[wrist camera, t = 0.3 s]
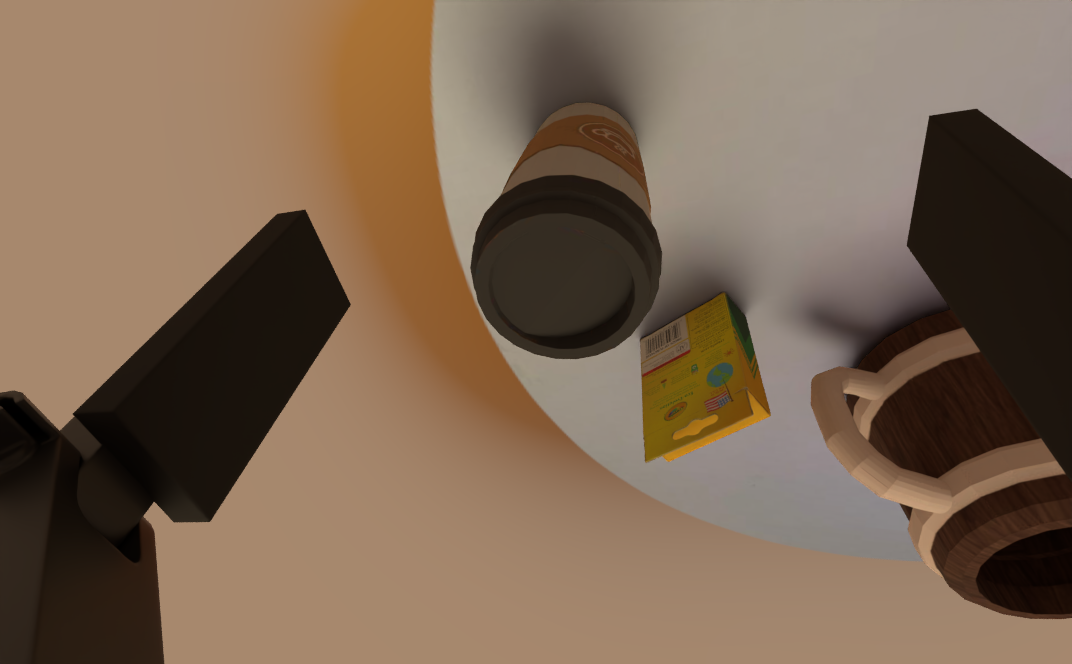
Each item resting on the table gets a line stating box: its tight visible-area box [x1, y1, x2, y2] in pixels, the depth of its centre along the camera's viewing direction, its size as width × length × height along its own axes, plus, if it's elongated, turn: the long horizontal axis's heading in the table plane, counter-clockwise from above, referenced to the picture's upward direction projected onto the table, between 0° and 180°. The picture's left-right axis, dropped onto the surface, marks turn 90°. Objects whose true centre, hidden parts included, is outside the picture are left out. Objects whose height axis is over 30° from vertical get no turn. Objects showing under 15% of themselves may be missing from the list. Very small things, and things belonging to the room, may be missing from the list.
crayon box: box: [640, 292, 771, 463], centre depth 39 cm, size 7×3×12 cm, turn 132°
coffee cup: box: [471, 103, 662, 359], centre depth 31 cm, size 8×8×15 cm
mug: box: [811, 310, 1072, 619], centre depth 37 cm, size 20×15×15 cm
